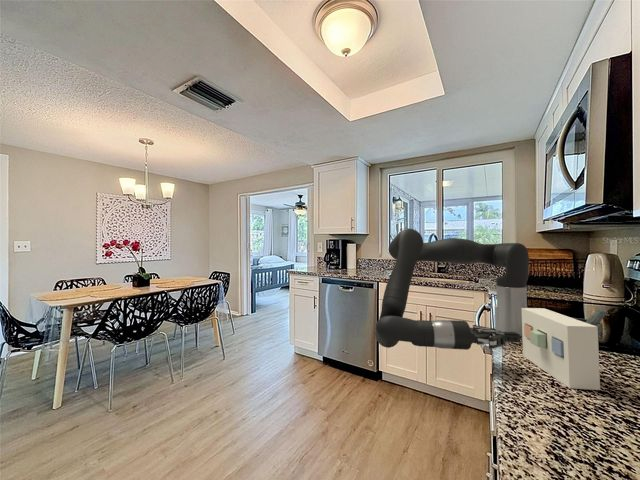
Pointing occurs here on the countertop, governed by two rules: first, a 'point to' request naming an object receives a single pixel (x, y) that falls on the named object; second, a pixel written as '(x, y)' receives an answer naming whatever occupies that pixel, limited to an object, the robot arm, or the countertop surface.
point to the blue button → (557, 346)
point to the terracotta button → (527, 330)
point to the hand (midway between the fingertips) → (518, 337)
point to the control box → (578, 348)
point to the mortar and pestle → (595, 319)
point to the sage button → (538, 338)
